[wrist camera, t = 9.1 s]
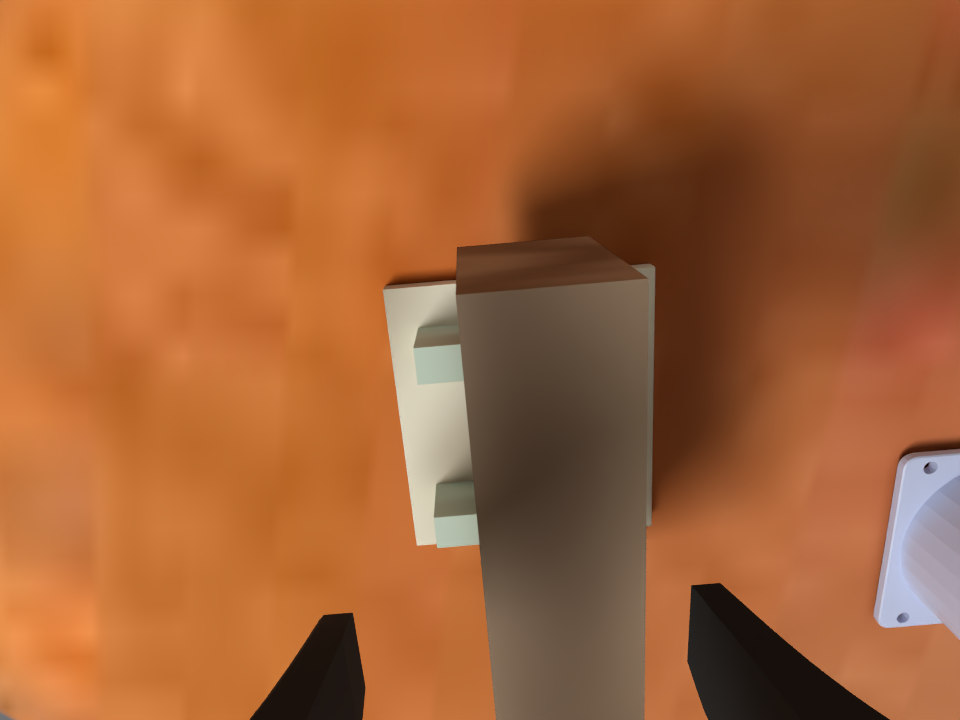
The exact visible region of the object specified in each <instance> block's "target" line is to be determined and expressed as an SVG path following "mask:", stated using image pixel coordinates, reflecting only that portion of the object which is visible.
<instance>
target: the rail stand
mask: <svg viewBox="0 0 960 720" xmlns="http://www.w3.org/2000/svg"><path fill="white" fill-rule="evenodd" d="M630 266H632V267H633V268H635V269H636V270H637V271H639V272H640V273H642V274H643V275H644V276H646V277H647V278H649V298H648V399H647V500H646V526H651V517H652V451H653V385H654V319H655V266H653V265H651V264H639V265H630ZM383 294H384V301H385V309H386V316H387V324H388V331H389V339H390V346H391V354H392V362H393V369H394V377H395V384H396V392H397V399H398V407H399V414H400V422H401V429H402V437H403V444H404V452H405V459H406V467H407V474H408V482H409V489H410V497H411V505H412V512H413V520H414V527H415V535H416V542H417V546H418V545H430V544H437V548H443V547H455V546H467V545H478V544H479V535H478V524H477V514H476V503H475V493H474V482H473V472H472V461H471V451H470V440H469V430H468V419H467V409H466V398H465V388H464V378H463V367H462V357H461V346H460V336H459V325H458V315H457V304H456V280H448V281H436V282H424V283H413V284H401V285H389V286H385V287H384V289H383Z"/></svg>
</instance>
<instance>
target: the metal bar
mask: <svg viewBox="0 0 960 720" xmlns="http://www.w3.org/2000/svg"><path fill="white" fill-rule="evenodd" d="M648 298H649V278H647V277H646V276H644V275H643V274H642V273H640V272H639V271H637V270H636V269H635V268H633V267H632V266H630V265H629V264H627V263H626V262H625V261H623V260H622V259H620V258H619V257H618V256H616V255H615V254H613V253H612V252H611V251H609V250H608V249H606V248H605V247H604V246H602V245H601V244H599V243H598V242H597V241H595V240H594V239H592V238H591V237H589V236H583V237H571V238H559V239H548V240H536V241H524V242H513V243H501V244H489V245H478V246H466V247H457V267H456V304H457V315H458V325H459V336H460V346H461V357H462V367H463V378H464V388H465V398H466V409H467V419H468V430H469V440H470V451H471V461H472V472H473V482H474V493H475V503H476V514H477V524H478V535H479V545H480V556H481V566H482V577H483V587H484V598H485V608H486V619H487V629H488V639H489V650H490V660H491V671H492V681H493V692H494V702H495V713H496V720H644V702H645V601H646V500H647V399H648Z"/></svg>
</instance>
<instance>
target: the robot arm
mask: <svg viewBox="0 0 960 720" xmlns="http://www.w3.org/2000/svg"><path fill="white" fill-rule="evenodd" d="M929 462H930V464H929V465H928V466H927V467H926V468H924V466H925V465H926V464H927V463H929ZM923 468H924V469H923ZM874 618H875V620H876V621H877V622H878V623H879V624H880V625H881V626H882V627H886V628H891V627H903V626H914V625H926V624H938V623H943V624H944V625H945V626H946V627H947V628H948V629H949V630H950V631H951V632H952V633H953V634H954V635H955V636H956V637H957V638H958V639H959V640H960V449H952V450H940V451H928V452H917V453H910V454H907V455H906V456H904V457H903V458H902V459H901V460H900V461H899V464H898V468H897V474H896V480H895V486H894V492H893V499H892V505H891V511H890V517H889V523H888V529H887V535H886V541H885V548H884V554H883V560H882V566H881V572H880V578H879V584H878V591H877V597H876V603H875V609H874ZM687 661H688V664H689V667H690V670H691V673H692V677H693V680H694V683H695V686H696V689H697V691H698V694H699V697H700V700H701V703H702V706H703V709H704V711H705V713H706V716H707V718H708V720H890V719H888V718H887V717H885V716H884V715H882V714H881V713H879V712H878V711H876V710H875V709H873V708H872V707H870V706H869V705H867V704H866V703H864V702H863V701H862V700H860V699H859V698H857V697H856V696H855V695H853V694H852V693H850V692H849V691H848V690H846V689H845V688H844V687H842V686H841V685H840V684H839V683H837V682H836V681H835V680H833V679H832V678H831V677H829V676H828V675H827V674H825V673H824V672H823V671H821V670H820V669H819V668H818V667H816V666H815V665H814V664H813V663H811V662H810V661H809V660H808V659H806V658H805V657H804V656H803V655H802V654H800V653H799V652H798V651H797V650H796V649H794V648H793V647H792V646H791V645H790V644H788V643H787V642H786V641H785V640H784V639H782V638H781V637H780V636H779V635H778V634H777V633H776V632H774V631H773V630H772V629H771V628H770V627H769V626H768V625H766V624H765V623H764V622H763V621H762V620H761V619H760V618H759V617H757V616H756V615H755V614H754V613H753V612H752V611H751V610H750V609H748V608H747V607H746V606H745V605H744V604H743V603H742V602H741V601H740V600H738V599H737V598H736V597H735V596H734V595H733V594H732V593H731V592H729V591H728V590H727V589H726V588H725V587H724V586H723V585H722V584H720V583H716V584H704V585H691V603H690V622H689V641H688V660H687ZM364 697H365V682H364V676H363V670H362V664H361V659H360V653H359V647H358V641H357V635H356V629H355V623H354V617H353V613H343V614H331V615H324V616H323V617H322V618H321V619H320V620H319V621H318V623H317V625H316V626H315V628H314V629H313V631H312V632H311V634H310V635H309V637H308V639H307V640H306V642H305V643H304V645H303V646H302V648H301V649H300V651H299V652H298V654H297V655H296V657H295V658H294V660H293V661H292V663H291V664H290V666H289V667H288V668H287V670H286V671H285V673H284V674H283V675H282V677H281V678H280V680H279V681H278V682H277V684H276V685H275V687H274V688H273V689H272V691H271V692H270V694H269V695H268V696H267V698H266V699H265V700H264V702H263V703H262V704H261V706H260V707H259V708H258V710H257V711H256V712H255V713H254V715H253V716H252V717H251V718H250V720H362V718H363V708H364Z"/></svg>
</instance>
